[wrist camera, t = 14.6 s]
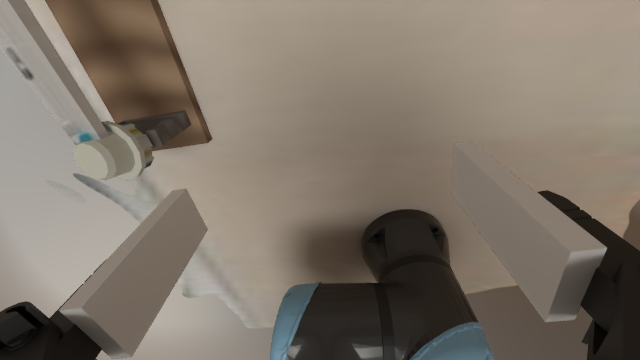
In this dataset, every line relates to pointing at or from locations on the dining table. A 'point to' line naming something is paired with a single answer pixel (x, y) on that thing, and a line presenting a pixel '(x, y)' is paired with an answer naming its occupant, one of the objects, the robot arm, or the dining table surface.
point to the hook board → (134, 67)
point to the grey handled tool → (70, 100)
